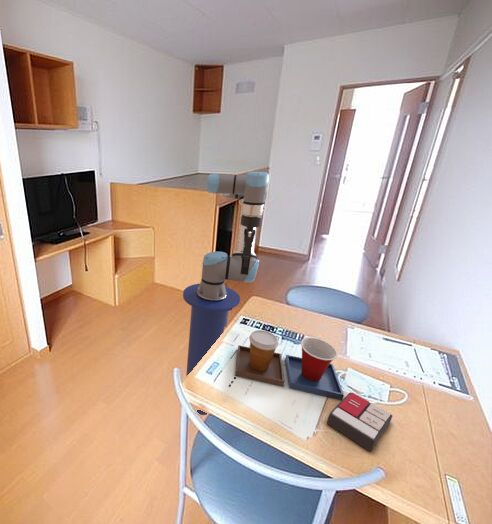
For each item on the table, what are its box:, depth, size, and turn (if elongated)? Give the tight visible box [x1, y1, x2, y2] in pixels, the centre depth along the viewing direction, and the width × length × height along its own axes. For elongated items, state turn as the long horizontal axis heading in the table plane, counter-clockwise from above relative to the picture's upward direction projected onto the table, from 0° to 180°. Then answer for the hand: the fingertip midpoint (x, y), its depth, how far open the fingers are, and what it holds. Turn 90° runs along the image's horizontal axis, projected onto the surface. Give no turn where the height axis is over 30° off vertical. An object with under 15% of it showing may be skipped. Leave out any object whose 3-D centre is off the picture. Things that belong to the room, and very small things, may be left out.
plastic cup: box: [300, 336, 339, 381], centre depth 102 cm, size 11×11×12 cm
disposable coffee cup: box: [248, 329, 279, 371], centre depth 107 cm, size 10×10×12 cm
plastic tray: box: [284, 354, 345, 401], centre depth 104 cm, size 15×15×2 cm
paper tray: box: [235, 344, 285, 387], centre depth 109 cm, size 15×15×2 cm
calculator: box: [326, 392, 393, 452], centre depth 86 cm, size 11×4×15 cm
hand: (244, 267), depth 121 cm, fingers open, 13 cm apart
